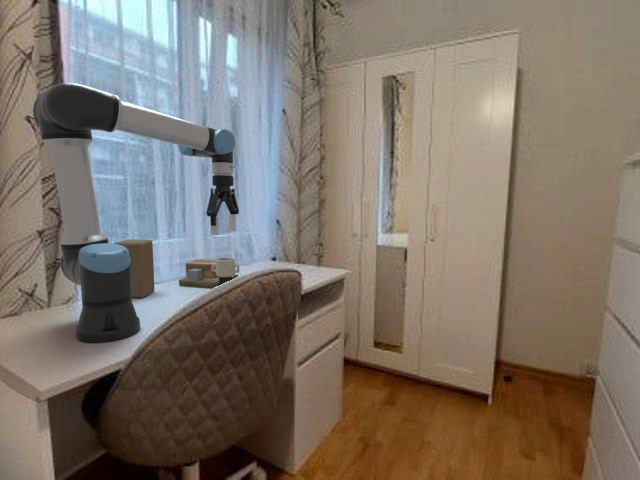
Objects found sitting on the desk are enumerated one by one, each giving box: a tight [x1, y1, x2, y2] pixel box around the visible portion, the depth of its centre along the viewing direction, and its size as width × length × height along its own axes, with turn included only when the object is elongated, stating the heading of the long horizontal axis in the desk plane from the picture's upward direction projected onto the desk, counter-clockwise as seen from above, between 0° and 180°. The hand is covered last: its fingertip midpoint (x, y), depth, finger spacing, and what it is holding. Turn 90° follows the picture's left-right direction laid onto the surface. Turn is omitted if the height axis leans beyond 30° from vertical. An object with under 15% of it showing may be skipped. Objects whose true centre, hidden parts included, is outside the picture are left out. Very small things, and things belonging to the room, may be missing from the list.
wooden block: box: [113, 238, 155, 299], centre depth 140 cm, size 10×10×20 cm
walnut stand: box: [178, 258, 239, 290], centre depth 160 cm, size 16×18×8 cm
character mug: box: [212, 256, 240, 286], centre depth 144 cm, size 11×7×13 cm, turn 81°
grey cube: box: [188, 269, 203, 281], centre depth 155 cm, size 4×4×4 cm
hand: (224, 233), depth 143 cm, fingers open, 13 cm apart
